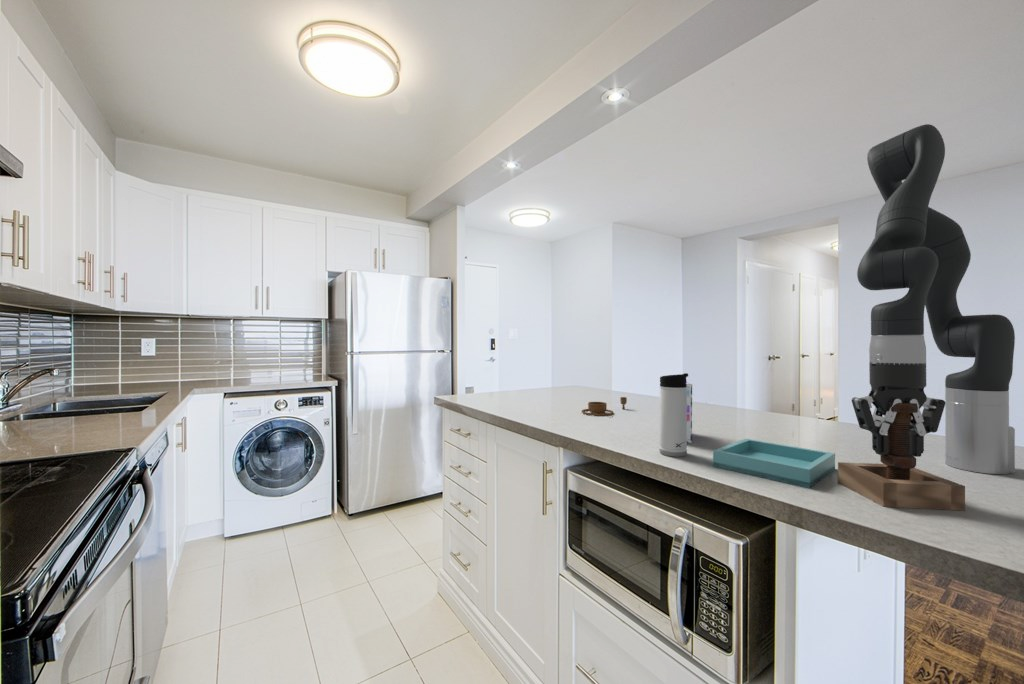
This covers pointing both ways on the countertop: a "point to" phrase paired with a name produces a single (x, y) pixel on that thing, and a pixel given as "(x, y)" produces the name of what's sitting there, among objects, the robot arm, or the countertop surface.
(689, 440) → the candy box
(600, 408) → the place setting
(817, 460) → the tray
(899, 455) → the bolt
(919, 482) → the tray
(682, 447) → the travel mug
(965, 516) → the countertop surface
